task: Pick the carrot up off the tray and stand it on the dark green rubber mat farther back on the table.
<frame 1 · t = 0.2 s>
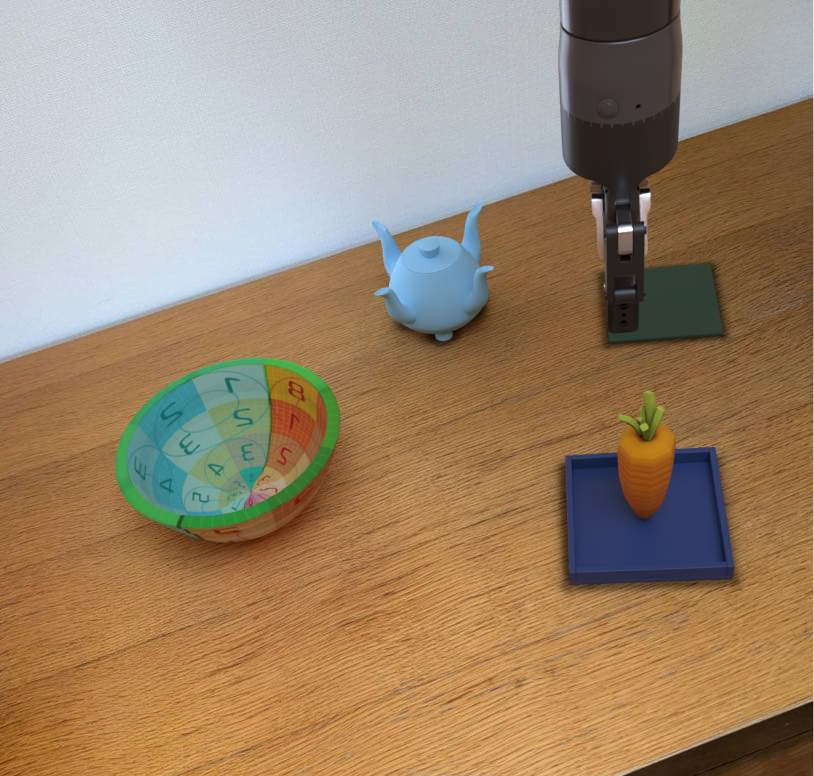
hand: (619, 292, 75), 25 cm above the table, tool pointing down, fingers open, 8 cm apart
teapot: (440, 317, 116), on the table
tray: (644, 520, 93), on the table
carrot: (644, 518, 93), resting in tray
mat: (660, 304, 111), on the table
bowl: (256, 503, 103), on the table
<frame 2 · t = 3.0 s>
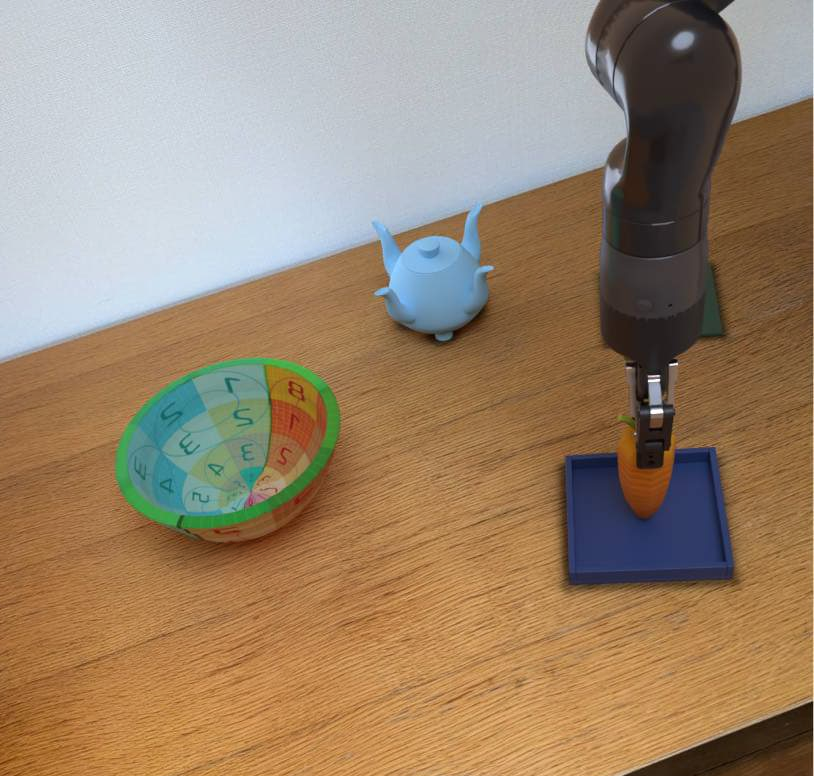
hand: (646, 441, 85), 11 cm above the table, tool pointing down, fingers closed on carrot, 5 cm apart
carrot: (644, 518, 93), resting in tray, touching gripper
everything else where it was.
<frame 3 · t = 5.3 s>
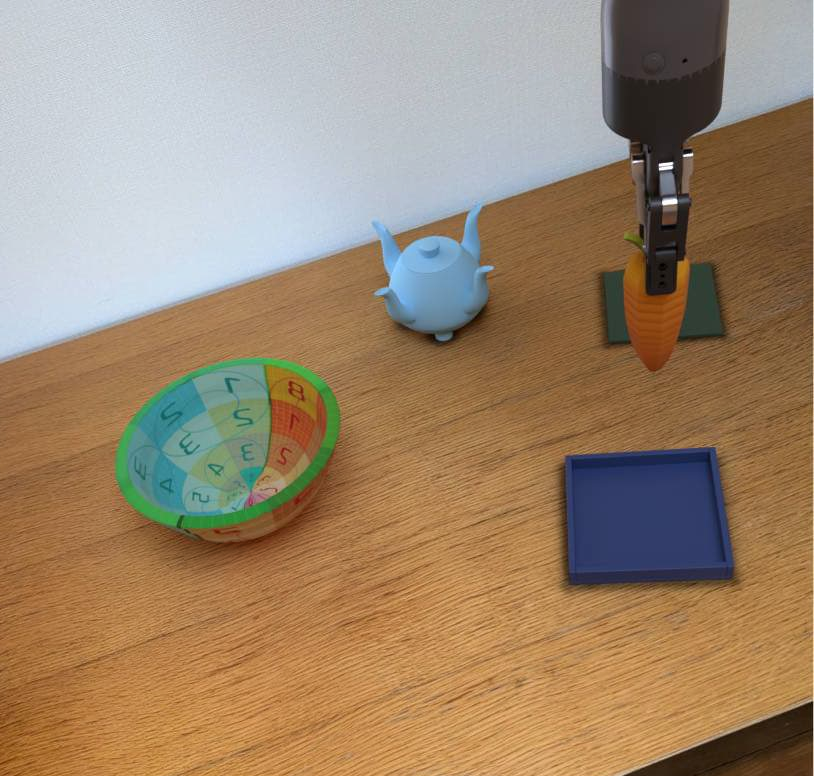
hand: (657, 267, 74), 27 cm above the table, tool pointing down, fingers closed on carrot, 5 cm apart
carrot: (654, 372, 82), point 16 cm above the table, touching gripper
everything else where it was.
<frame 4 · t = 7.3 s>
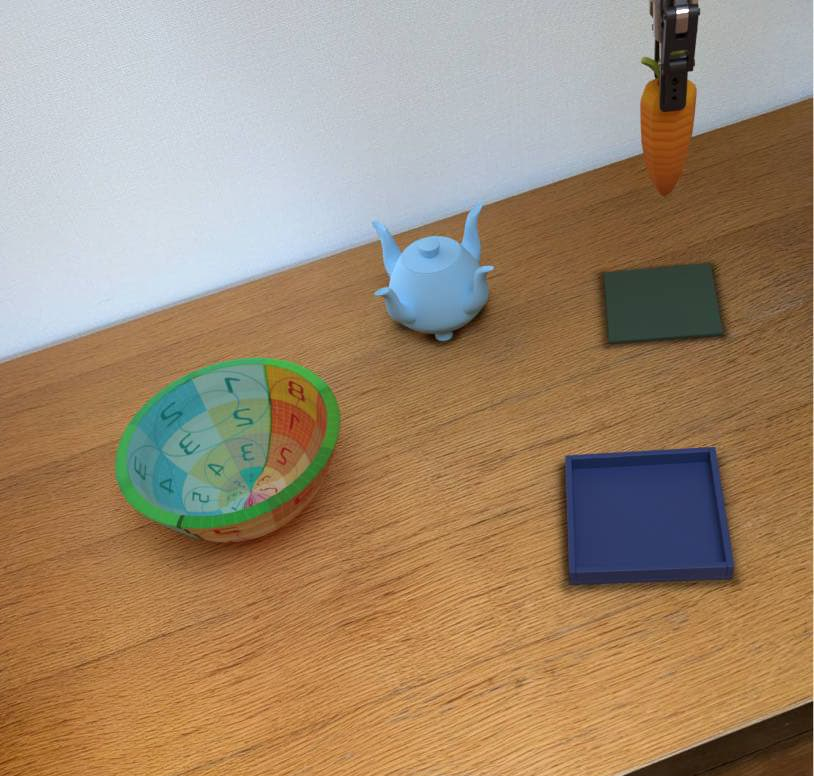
hand: (669, 91, 88), 27 cm above the table, tool pointing down, fingers closed on carrot, 5 cm apart
carrot: (664, 197, 96), point 16 cm above the table, touching gripper
everything else where it was.
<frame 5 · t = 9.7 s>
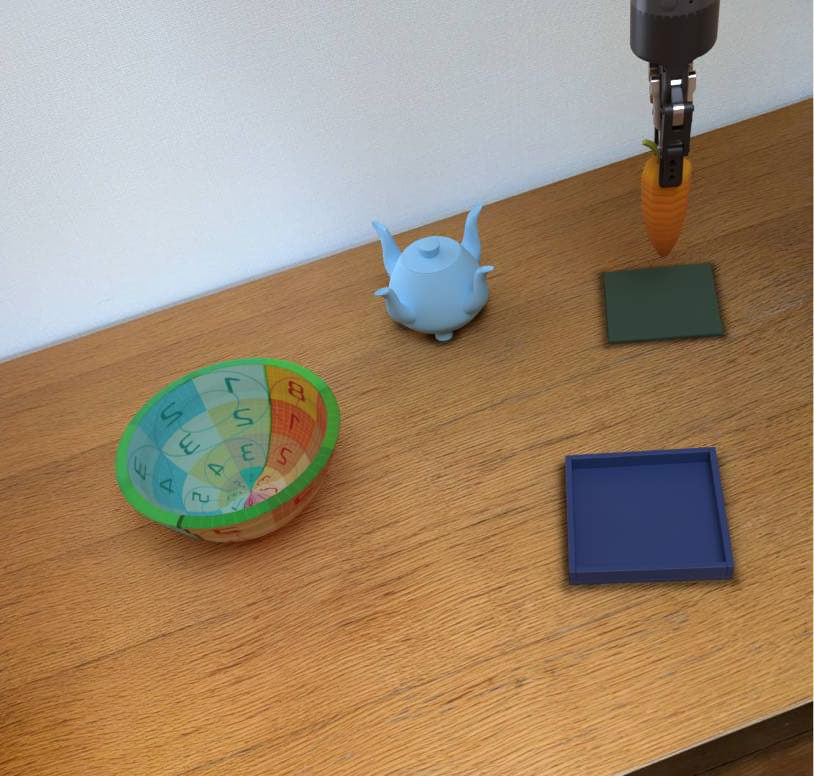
hand: (667, 168, 98), 17 cm above the table, tool pointing down, fingers closed on carrot, 5 cm apart
carrot: (663, 258, 106), point 6 cm above the table, touching gripper
everything else where it was.
when the fingers open (11 cm above the table, at t = 11.6 s): carrot stays where it is, resting on mat.
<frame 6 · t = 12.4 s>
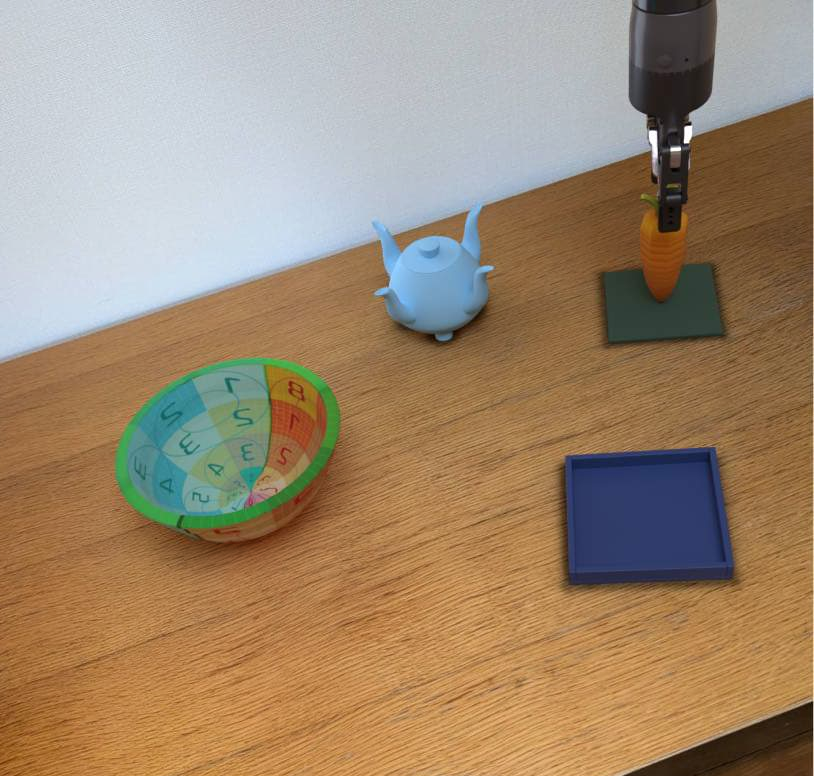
hand: (665, 205, 101), 13 cm above the table, tool pointing down, fingers open, 8 cm apart
carrot: (661, 302, 111), resting on mat
everything else where it was.
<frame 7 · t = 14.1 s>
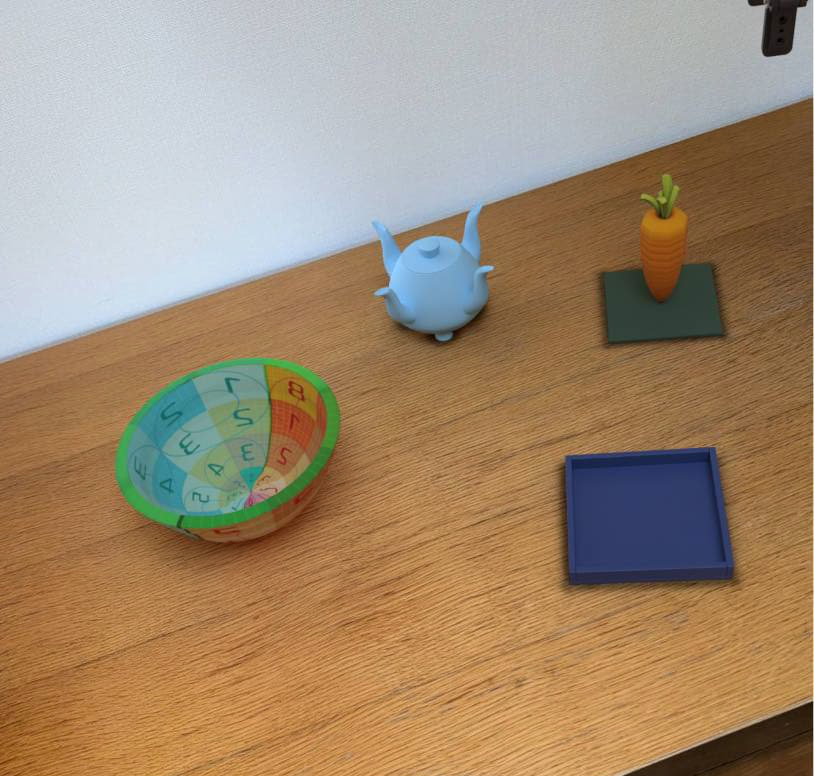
hand: (768, 27, 79), 33 cm above the table, tool pointing down, fingers open, 8 cm apart
nothing on the table moved.
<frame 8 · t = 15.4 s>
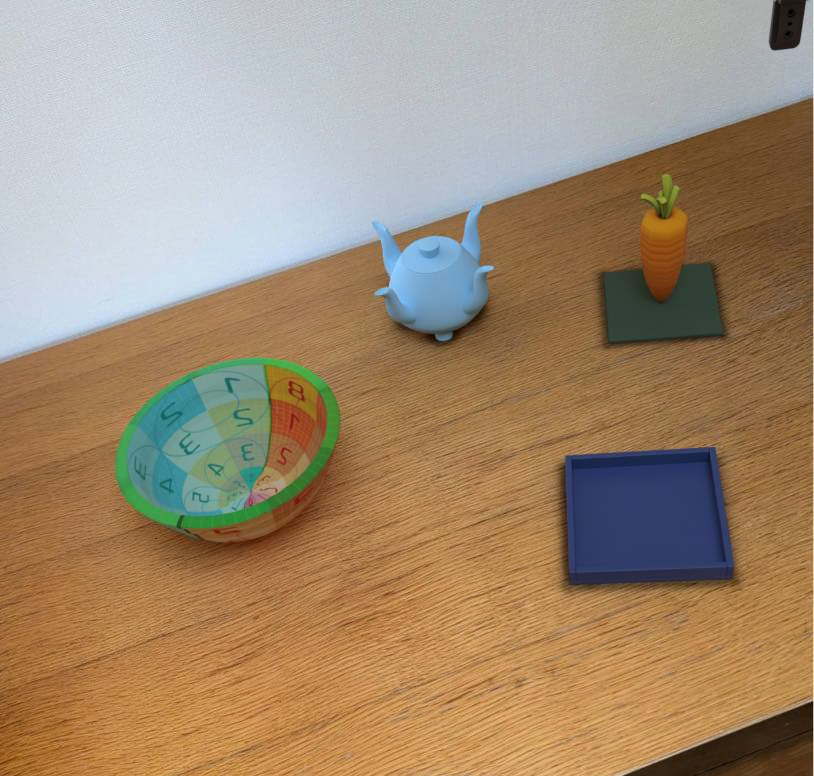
hand: (774, 20, 78), 34 cm above the table, tool pointing down, fingers open, 8 cm apart
nothing on the table moved.
at the end: carrot inside the target area on the mat (0.1 cm from its centre), point 0.2 cm above the mat's base; carrot tilted 0°; carrot touching mat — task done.
